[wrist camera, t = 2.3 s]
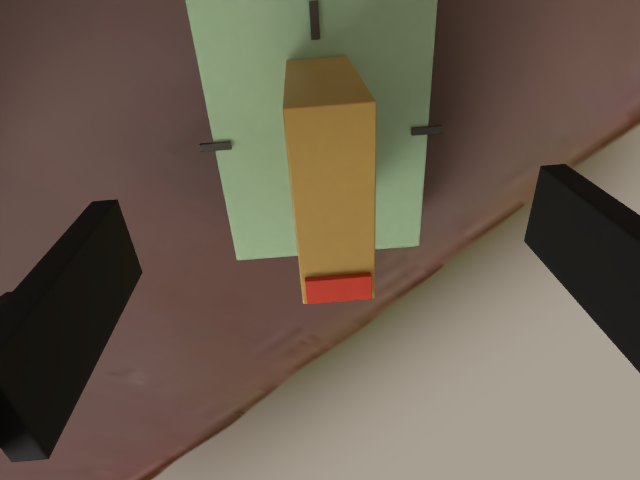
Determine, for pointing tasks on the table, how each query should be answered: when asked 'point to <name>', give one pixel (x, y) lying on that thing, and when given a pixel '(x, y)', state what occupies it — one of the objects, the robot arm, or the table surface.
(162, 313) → the table surface
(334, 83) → the yellow rectangular block
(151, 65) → the table surface
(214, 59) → the plate
